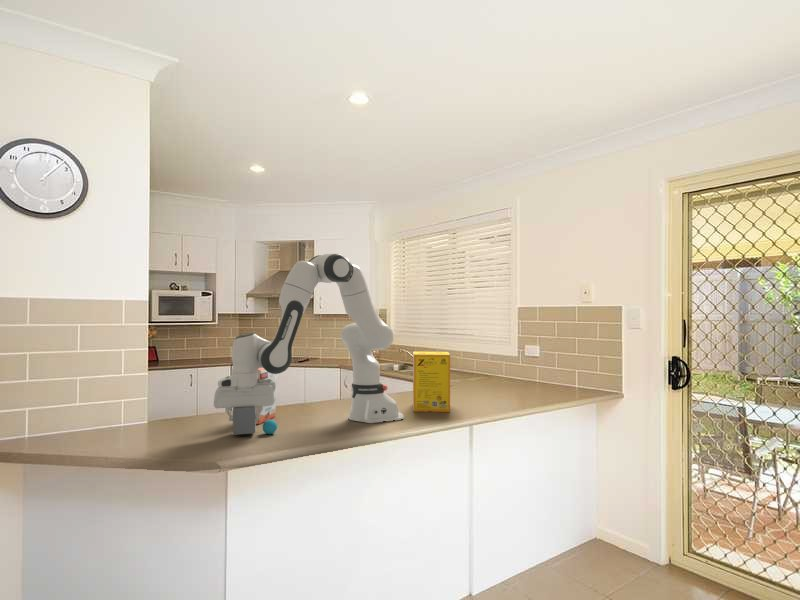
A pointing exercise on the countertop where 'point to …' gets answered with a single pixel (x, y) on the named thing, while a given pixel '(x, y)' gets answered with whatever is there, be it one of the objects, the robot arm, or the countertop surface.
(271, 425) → the ball
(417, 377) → the packaging box
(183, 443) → the countertop surface
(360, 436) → the countertop surface
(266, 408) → the cracker box
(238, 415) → the gray faceted wedge
